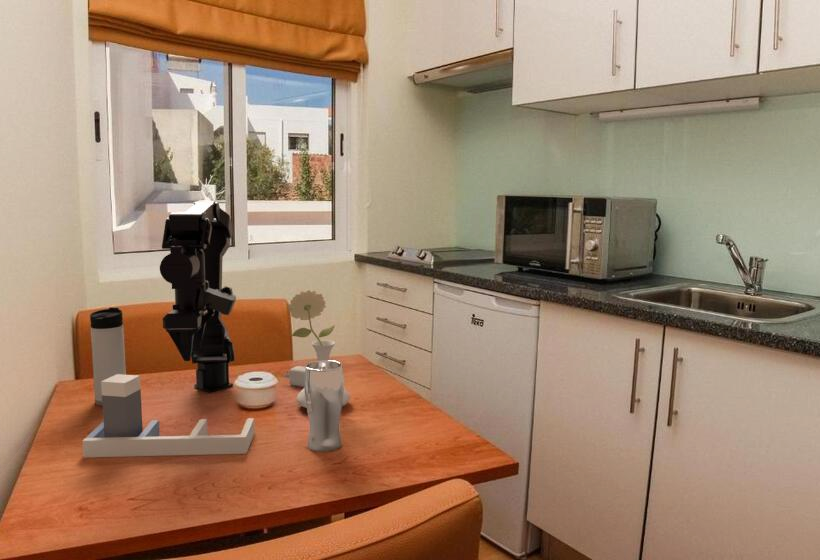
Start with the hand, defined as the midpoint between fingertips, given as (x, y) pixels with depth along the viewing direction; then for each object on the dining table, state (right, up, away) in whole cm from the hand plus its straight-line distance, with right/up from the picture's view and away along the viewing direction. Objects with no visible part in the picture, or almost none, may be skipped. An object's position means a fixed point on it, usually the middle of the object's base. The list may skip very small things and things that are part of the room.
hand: (192, 354), depth 125 cm
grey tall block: (-8, -14, -12) cm, 20 cm away
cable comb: (+1, -15, -11) cm, 18 cm away
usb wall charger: (+16, -10, +25) cm, 31 cm away
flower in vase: (+24, -12, +10) cm, 28 cm away
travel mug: (-21, -12, +11) cm, 26 cm away
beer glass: (+28, -15, -11) cm, 34 cm away
